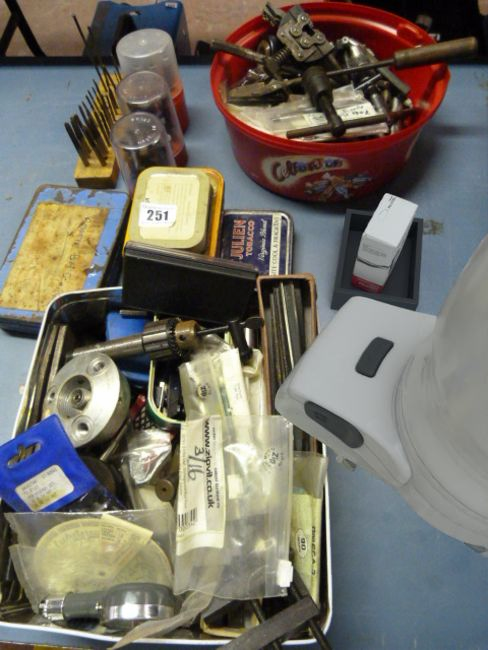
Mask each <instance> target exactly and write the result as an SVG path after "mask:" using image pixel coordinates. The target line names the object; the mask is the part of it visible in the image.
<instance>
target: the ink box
mask: <svg viewBox="0 0 488 650" xmlns="http://www.w3.org/2000/svg"><path fill="white" fill-rule="evenodd" d="M418 208H419V204H418V203H415V202H413V201H411V200H407V199H405V198H402V197H399V196H397V195H393V194H390V193H387V192H386V193H385V194H384V195H383V196H382V199H381V200H380V202H379V204H378V206H377V207H376V209H375V210H374V211H373V212H374V214H373V217H372V219H371V220H370V222H369V223H368V226H367V228H366V229H365V231H364V233H363V235H362V239H361V242H360V246H359V250H358V254H357V258H356V262H355V267H354V271H353V275H352V279H351V285H354V286H356V287H358V288H360V289H363V290H365V291H368V292H371V293H376V294H380V293H381V291H382V289H383V287H384V285H385V283H386V281H387V279H388V277H389V275H390V273H391V271H392V269H393V267H394V265H395V263H396V261H397V259H398V257H399V255H400V252H401V250H402V247H403V245H404V242H405V240H406V237H407V234H408V232H409V229H410V226H411V224H412V221H413V219H414V218H415V215H416V213H417V211H418Z"/></svg>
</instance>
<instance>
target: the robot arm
mask: <svg viewBox="0 0 488 650" xmlns="http://www.w3.org/2000/svg"><path fill="white" fill-rule="evenodd" d="M274 408H275V410H276V411H277V412H278V413H279V414H280V415H281V417H283V418H284V419H285V420H286V421H288V423H291V424H292V425H294V426H296V427H297V428H299V429H300V430H301V431H303V432H305V433H307V434H308V435H309V436H311V437H312V438H314V439H315V440H317V441H318V442H320V443H322V444H323V445H325V446H326V447H328V448H330V449H331V450H332V451H333V452H334V453H335V454H336V457H335V459H334V460H335V461H336V462H338V463H339V464H341V465H342V466H344V467H345V468H346V469H349V470H350V471H352V472H354V471H355V470H356V468H357V467H359V468H360V469H362V470H364V471H365V472H367V473H368V474H370V475H371V476H372V477H374V478H376V479H377V480H379V481H381V482H382V483H384V484H385V485H386V486H388V487H390V488H392V489H393V490H394V491H396V492H397V493H399V494H400V496H401V497H402V498H403V500H404V501H405V502H406V504H407V505H408V506H409V508H410V509H412V510H413V512H415V513H416V514H417V515H418V516H419V517H420V518H421V519H423V521H425V522H427V523H428V524H430V526H432V527H433V528H435V529H436V530H438V531H439V532H441V533H443V534H445V535H447V536H449V537H451V538H453V539H456V540H458V541H460V542H463V544H464V545H465V546H467V547H469V548H470V549H471V550H473V551H474V552H476V553H477V554H479V555H480V556H482V557H483V558H484V559H488V231H487V232H486V233H485V235H484V236H483V238H482V239H481V241H480V242H479V243H478V245H477V246H476V248H475V249H474V251H473V252H472V253H471V254H470V256H469V258H468V260H467V262H466V263H465V264H464V266H463V267H462V269H461V271H460V272H459V274H458V275H457V277H456V279H455V281H454V282H453V284H452V285H451V287H450V289H449V290H448V292H447V294H446V296H445V298H444V299H443V302H442V304H441V306H440V308H439V311H438V313H437V315H436V314H435V315H434V314H430V313H429V314H428V313H424V312H421V311H420V312H419V311H412V310H408V309H404V308H400V307H396V306H393V305H389V304H386V303H383V302H380V301H376V300H373V299H370V298H366V297H361V296H355V297H352V298H350V299H349V300H348V301H347V302H346V303H345V304H344V305H343V306H342V307H341V308H340V309H339V310H337V311H336V313H335V314H334V315H332V317H331V318H330V320H328V322H327V323H326V324H325V326H324V327H323V328H322V330H321V331H320V332H319V333H317V335H316V336H315V338H314V339H313V340H312V342H311V343H310V345H309V346H308V347H307V349H305V351H304V352H303V354H302V355H301V356H300V358H299V359H298V361H297V362H296V363H295V365H294V366H293V368H292V369H291V370H290V372H289V373H288V375H287V376H286V378H285V379H284V381H283V383H281V386H280V387H279V388H278V390H277V392H276V394H275V396H274Z"/></svg>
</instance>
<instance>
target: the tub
mask: <svg viewBox="0 0 488 650" xmlns="http://www.w3.org/2000/svg"><path fill="white" fill-rule="evenodd" d="M374 212H375V211H367V210H361V209H352V208H346V211H345V215H344V216H345V217H344V222H343V226H342V233H341V237H340V238H341V239H340V244H339V250H338V251H339V252H338V259H337V264H336V270H335V276H334V284H333V290H332V296H331V302H330V310H333V311H334V310H335V311H339V309H340V308H341V307H342V306H343V305H344V304H345V303H346V302H347V301H348V300H349V299H350V298H352V297H355V296H361V297H366V298H370V299H373V300H376V301H380V302H383V303H386V304H389V305H393V306H396V307H400V308H404V309H408V310H412V311H416V310H417V308H418V306H419V302H420V288H421V287H420V285H421V268H422V254H423V253H422V251H423V236H424V235H423V234H424V218H422V217H414V219H413V221H412V224H411V226H410V229H409V232H408V234H407V237H406V240H405V242H404V245H403V247H402V250H401V252H400V255H399V257H398V259H397V261H396V263H395V265H394V267H393V269H392V271H391V273H390V275H389V277H388V279H387V281H386V283H385V285H384V287H383V289H382V291H381V293H380V294H376V293H371V292H368V291H365V290H363V289H360V288H358V287H356V286H354V285H351V279H352V275H353V271H354V267H355V262H356V258H357V254H358V250H359V246H360V242H361V239H362V235H363V233H364V231H365V229H366V228H367V226H368V223H369V222H370V220H371V219H372V217H373V214H374ZM416 312H417V311H416Z"/></svg>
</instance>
